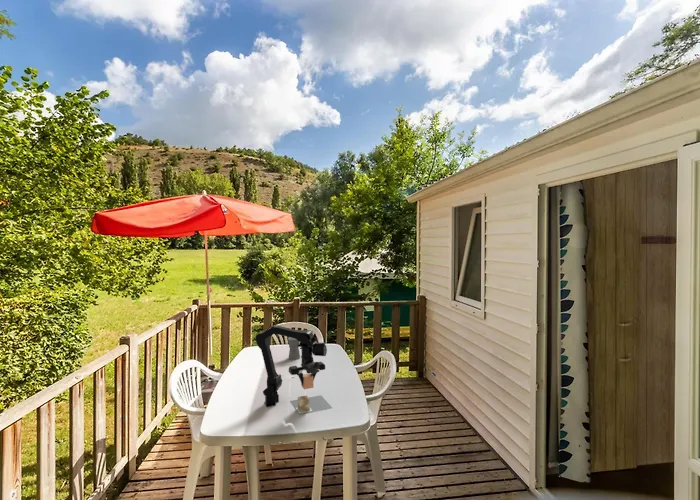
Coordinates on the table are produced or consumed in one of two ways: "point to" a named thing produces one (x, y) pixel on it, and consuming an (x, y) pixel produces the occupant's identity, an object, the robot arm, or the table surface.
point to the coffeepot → (293, 348)
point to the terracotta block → (307, 381)
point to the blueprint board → (313, 405)
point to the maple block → (303, 403)
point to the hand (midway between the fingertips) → (307, 384)
